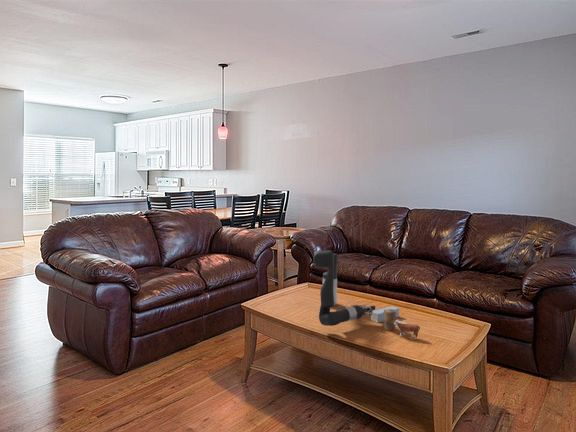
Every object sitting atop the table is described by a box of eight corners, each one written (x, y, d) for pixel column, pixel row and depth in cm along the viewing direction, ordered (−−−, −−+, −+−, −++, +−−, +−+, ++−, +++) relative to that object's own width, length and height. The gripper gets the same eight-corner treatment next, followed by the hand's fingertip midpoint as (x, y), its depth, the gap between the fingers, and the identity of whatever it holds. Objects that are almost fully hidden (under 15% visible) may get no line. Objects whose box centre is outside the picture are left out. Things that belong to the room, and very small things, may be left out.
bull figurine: (394, 332, 221) (394, 317, 220) (420, 338, 214) (420, 322, 213) (391, 335, 217) (392, 320, 216) (418, 340, 210) (418, 325, 209)
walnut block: (386, 330, 224) (386, 312, 223) (383, 326, 229) (383, 309, 228) (395, 330, 225) (395, 312, 224) (392, 326, 230) (392, 309, 229)
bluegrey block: (377, 314, 235) (399, 308, 246) (371, 311, 240) (392, 306, 250) (377, 322, 236) (398, 316, 246) (370, 319, 240) (392, 314, 250)
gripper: (360, 309, 222) (383, 304, 232) (343, 303, 233) (366, 298, 242) (360, 323, 223) (382, 317, 232) (343, 316, 234) (366, 310, 243)
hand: (374, 307), depth 237 cm, fingers closed
